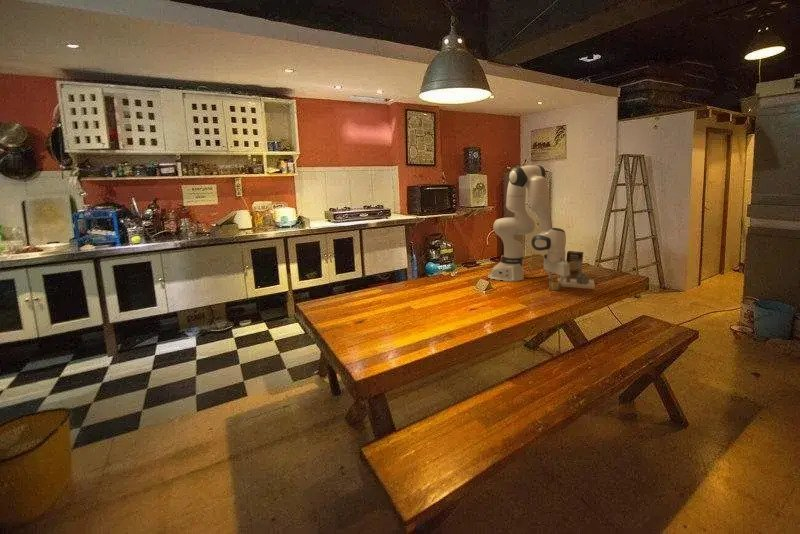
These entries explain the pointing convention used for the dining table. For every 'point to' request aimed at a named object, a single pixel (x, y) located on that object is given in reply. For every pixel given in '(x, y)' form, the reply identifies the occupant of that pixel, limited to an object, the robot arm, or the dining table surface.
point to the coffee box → (575, 263)
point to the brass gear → (554, 285)
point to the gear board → (578, 282)
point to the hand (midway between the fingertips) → (555, 280)
